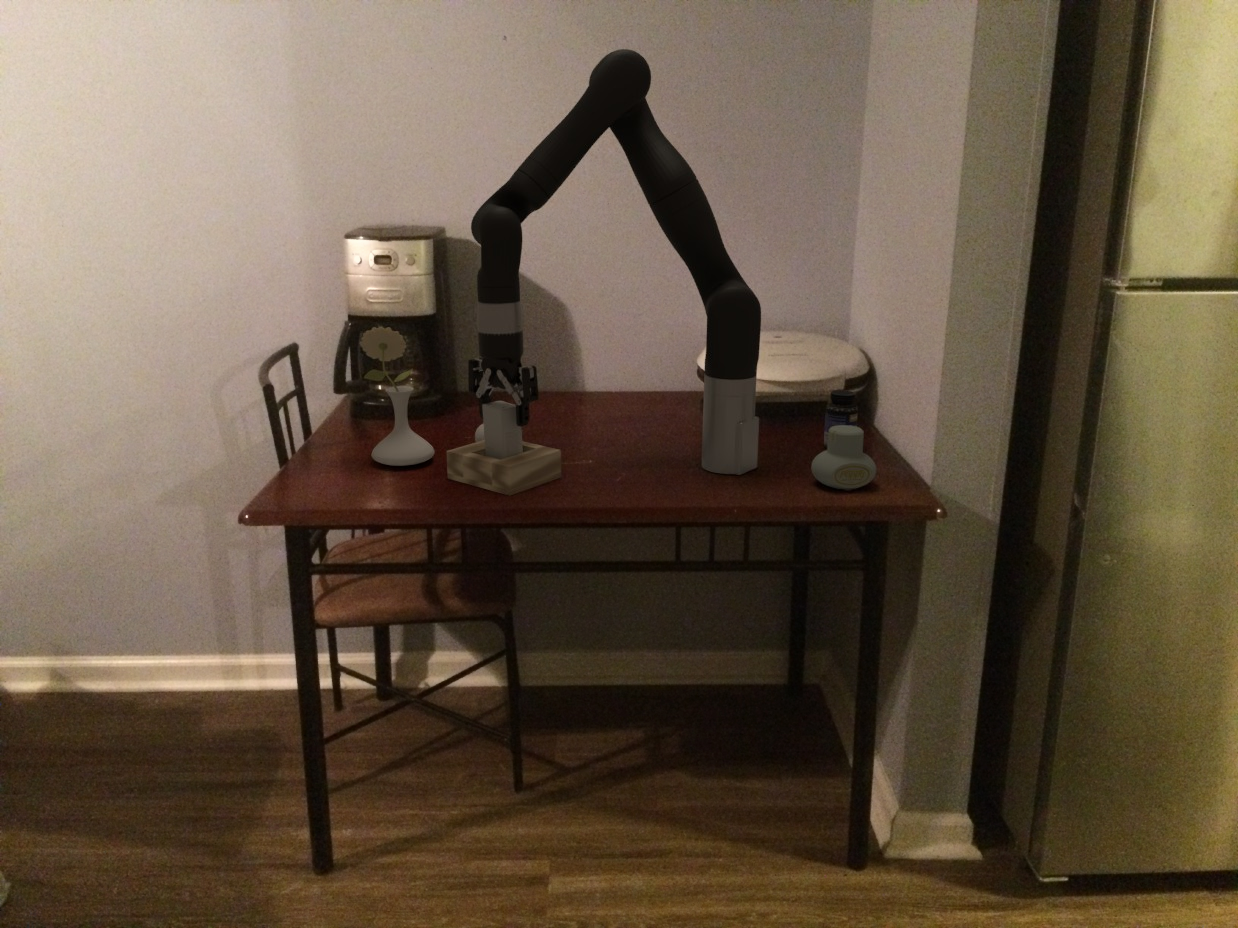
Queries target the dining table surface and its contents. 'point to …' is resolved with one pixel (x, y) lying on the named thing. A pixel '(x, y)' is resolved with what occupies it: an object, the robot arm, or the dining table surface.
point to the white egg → (479, 433)
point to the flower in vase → (394, 402)
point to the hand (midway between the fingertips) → (504, 421)
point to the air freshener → (844, 460)
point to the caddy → (504, 467)
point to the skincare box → (501, 430)
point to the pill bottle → (840, 411)
